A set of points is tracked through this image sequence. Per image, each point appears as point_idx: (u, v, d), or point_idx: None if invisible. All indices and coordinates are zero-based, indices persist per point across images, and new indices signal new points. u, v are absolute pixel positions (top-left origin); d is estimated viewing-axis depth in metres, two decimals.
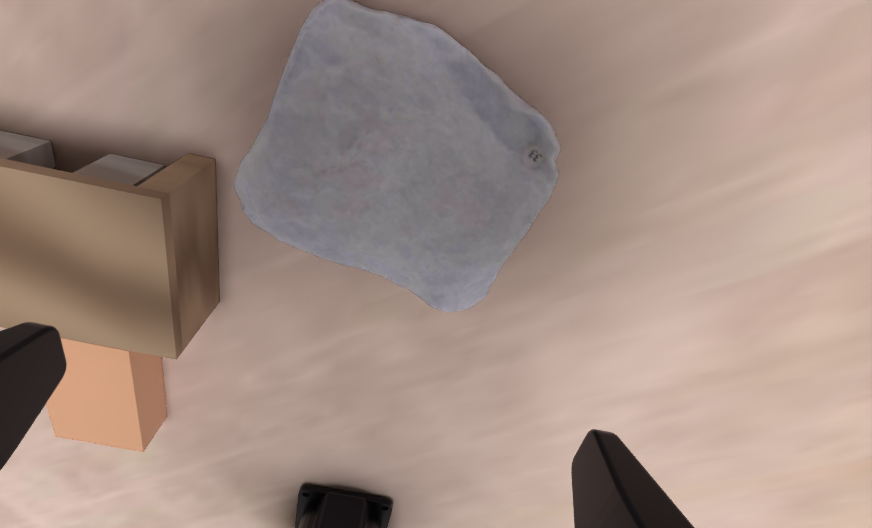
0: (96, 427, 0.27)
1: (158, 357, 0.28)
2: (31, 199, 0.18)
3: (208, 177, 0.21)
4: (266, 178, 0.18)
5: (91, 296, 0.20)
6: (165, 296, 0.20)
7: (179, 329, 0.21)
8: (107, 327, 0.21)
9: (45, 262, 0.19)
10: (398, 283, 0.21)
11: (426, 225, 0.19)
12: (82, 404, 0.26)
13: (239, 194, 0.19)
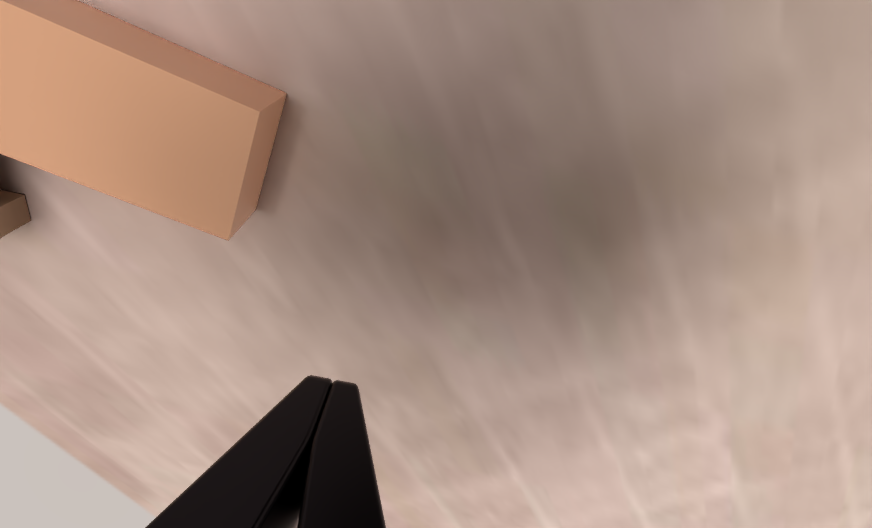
0: (197, 161, 0.16)
1: (130, 26, 0.16)
2: None
3: None
4: None
5: None
6: None
7: None
8: None
9: None
10: None
11: None
12: (141, 153, 0.16)
13: None
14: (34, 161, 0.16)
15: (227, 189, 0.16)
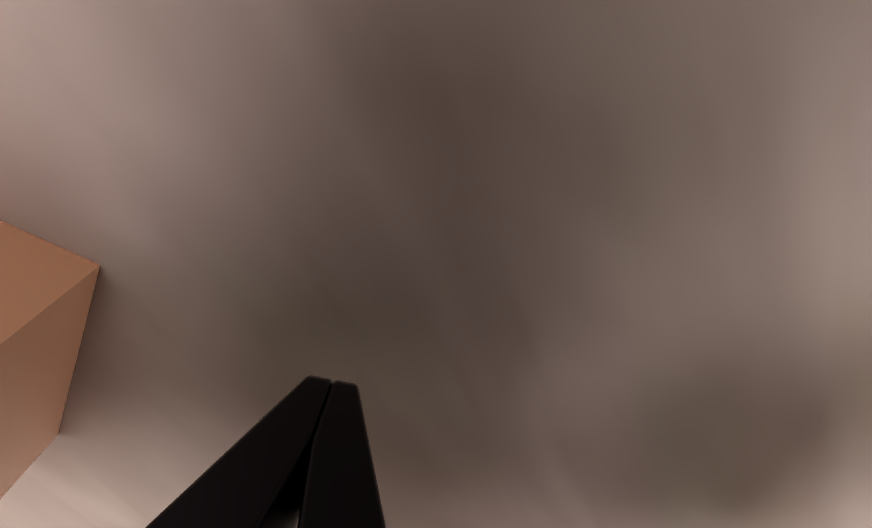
0: None
1: None
2: None
3: None
4: None
5: None
6: None
7: None
8: None
9: None
10: None
11: None
12: None
13: None
14: None
15: None
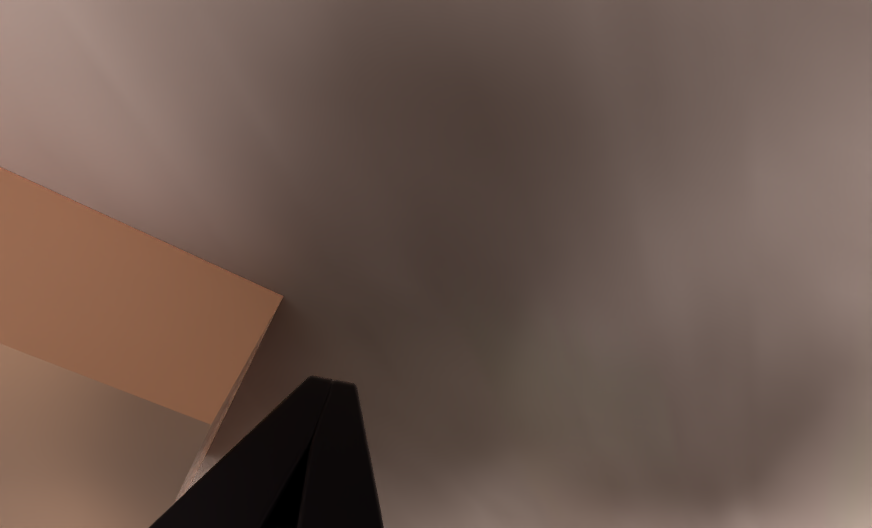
0: (56, 486, 0.07)
1: None
2: None
3: None
4: None
5: None
6: None
7: None
8: None
9: None
10: None
11: None
12: None
13: None
14: None
15: None
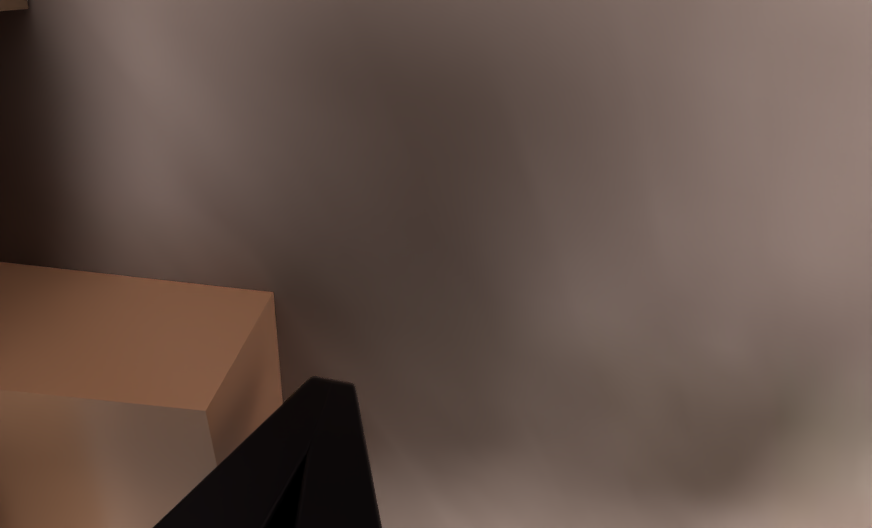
0: (128, 512, 0.07)
1: None
2: None
3: None
4: None
5: None
6: None
7: None
8: None
9: None
10: None
11: None
12: (22, 519, 0.08)
13: None
14: None
15: None
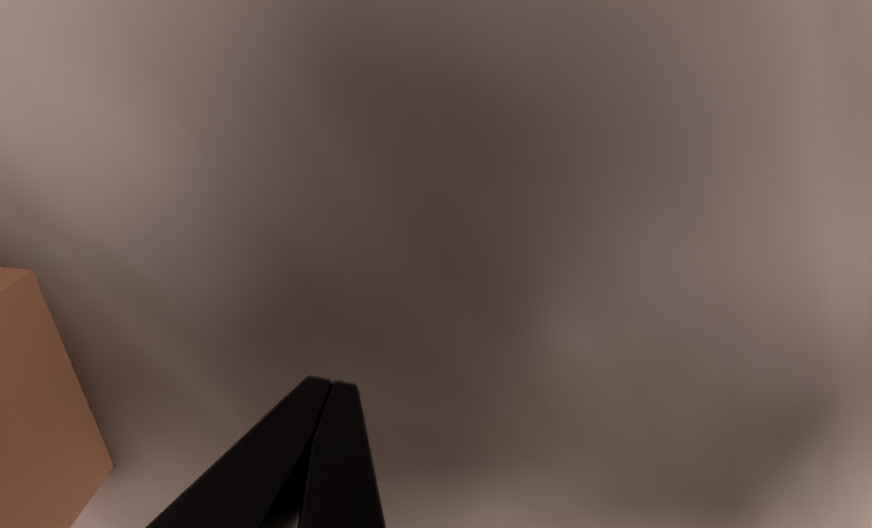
0: None
1: None
2: None
3: None
4: None
5: None
6: None
7: None
8: None
9: None
10: None
11: None
12: None
13: None
14: None
15: None
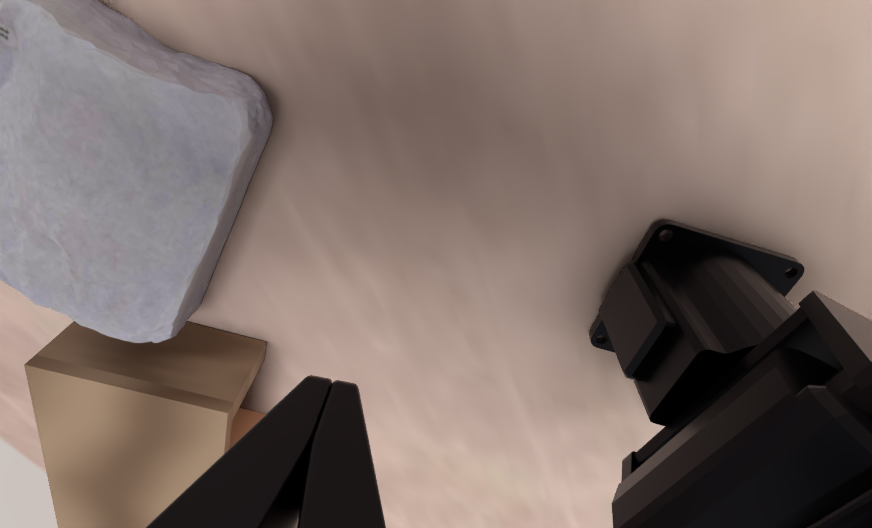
0: None
1: None
2: (66, 448, 0.22)
3: None
4: (92, 321, 0.18)
5: (160, 448, 0.21)
6: (140, 396, 0.20)
7: (198, 396, 0.20)
8: (197, 450, 0.21)
9: (130, 463, 0.22)
10: (217, 210, 0.17)
11: (118, 173, 0.16)
12: None
13: (137, 342, 0.20)
14: None
15: None
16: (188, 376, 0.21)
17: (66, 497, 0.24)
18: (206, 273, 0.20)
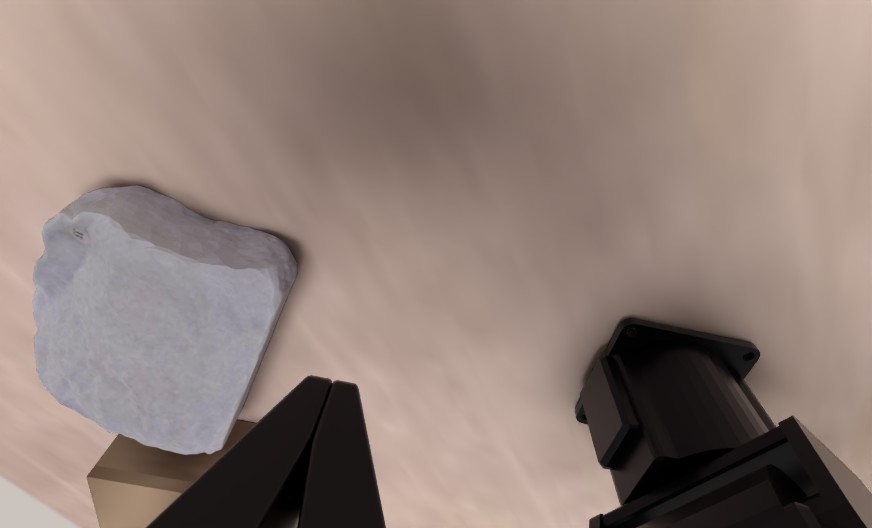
0: None
1: None
2: None
3: None
4: (157, 444, 0.22)
5: None
6: None
7: None
8: None
9: None
10: (256, 351, 0.20)
11: (174, 331, 0.19)
12: None
13: (193, 453, 0.23)
14: None
15: None
16: None
17: None
18: (248, 390, 0.23)
